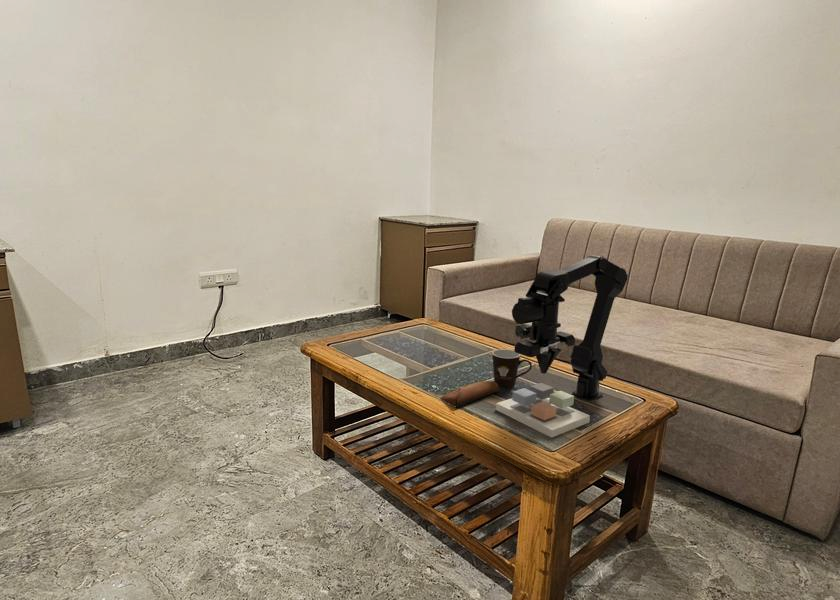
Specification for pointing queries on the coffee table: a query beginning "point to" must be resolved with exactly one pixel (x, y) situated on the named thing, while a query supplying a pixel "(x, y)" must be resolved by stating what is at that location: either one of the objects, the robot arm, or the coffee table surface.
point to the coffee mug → (507, 367)
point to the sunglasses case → (470, 393)
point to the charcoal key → (542, 390)
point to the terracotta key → (543, 410)
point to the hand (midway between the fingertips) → (543, 373)
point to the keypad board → (550, 427)
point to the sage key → (561, 399)
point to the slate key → (524, 396)
